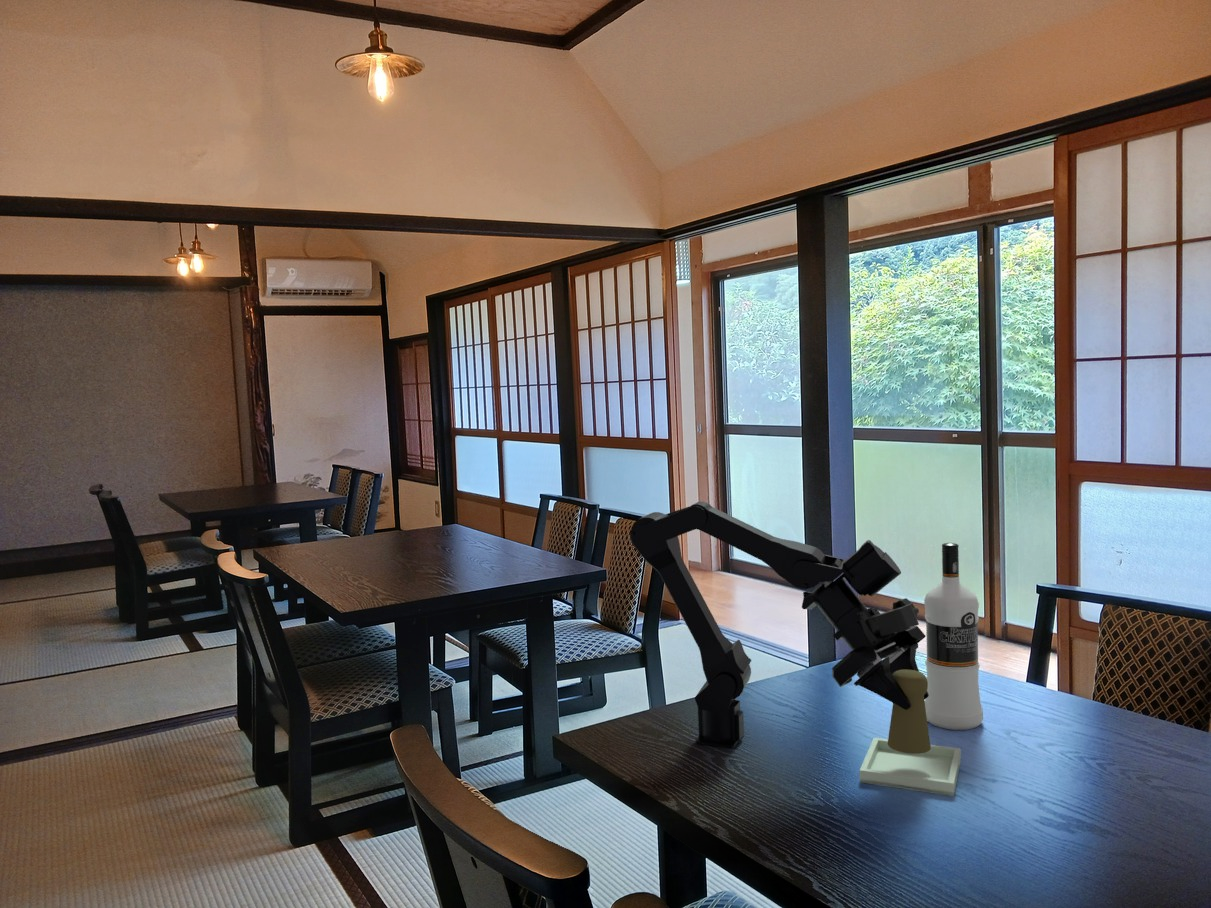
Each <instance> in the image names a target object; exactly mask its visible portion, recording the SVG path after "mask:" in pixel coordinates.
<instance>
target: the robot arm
mask: <svg viewBox="0 0 1211 908" xmlns="http://www.w3.org/2000/svg"><path fill="white" fill-rule="evenodd" d="M694 530H699V531H700V532H702V533H705V534H707V535H709V536H711V537H713V538H715V539H717V540H719V541H721V542H723V543H725V544H727V545H730V546H731V547H733V548H735V549H738V550H739V551H742V552H744V553H746V554H748V555H750V556H752V557H754V558H756V559H758V560H760V561H762V562H763V563H765V565H768V567H769V568H771V570H773V571H774V572H775V574H777V575H778V576H779V577H781V578H782V579H784V581H786V582H788V583H789V584H790V585H792V586H793V587H794V588H796V589H799V590H809V589H812V588H814V587H816V586H817V587H816V588H815V589H814V590H813V591H812V592H811V591H804V592H803V593H802V595H803V598H802V604H801V608H802V610H813V609H814V608H815V607H816V606H817V607H818V609H819V610H820V611H821V613H822V614H823V615H824V616H825V617H826V619H827V621H828V622H829V623H830V624H831V626H832V627H833V628H834V629H835V630H836V631H835V633H834V634H833V635H832V636H833V638H835V640H836V641H840V640H843V641H844V642H845V644H846V645H847V646H848V648H849V649H850V650H851V651H849V653H847V654H846V655H845V656H844V657H843V658H841V660H839V661H838V662H837V663H836V664H835V665H833V667H832V668H831V674H832V675H831V677H832V678H833V680H834V681H835V683H837V686H839V688H842V687H844V686H846V685H848V684H850V683H851V682H853V677H855V675H856V676H857V677H858V679H857V680H856V681H854V683H853V684H854V685H855V687H857V686H859V687H861V688H864V689H866V690H868V691H869V692H872V693H874V694H876V695H878V696H880V697H881V698H883V699H885V700H887V701H888V702H890V703H892V704H893V703H894V704H896V705H898V706H899V707H901V708H903V709H905V710H907V709H909V708H910V707H911V703H910V701H909V700H908V698H907V696H906V695H905V693H904V692H903V690H902V689H901V687H900V686H899V684H898V683H897V681H896V680H895V678H894V677H893V675H892V674H893V673H894V672H895V671H898V670H903V669H908V670H916V671H919V672H920V669H919V667H918V664H917V662H916V654H917V649H918V648H919V643H920V642H921V641H923V640H924V639H925V638H926V634H925V633H924V632H923V630H921V628H920V626H918V625H920V624H919V620H918V619H917V617H918V614H919V612H920V611H919V609H918V607H915V605H914V603H913V602H911V601H910V600H909V599H908V598H907V597H905V598H903V599H899V600H896V601H895V602H894V601H893V603H892V609H890V610H888V611H885V612H882V613H880V611H879V610H878V609H877V607H873V606H872V607H869V608H867V606H866V605H865V604H864V603H863V601H862V600H861V599H860V598H859V596H861V597H862V596H863V597H866V596H869V597H874V596H875V595H877V593H879V592H880V591H881V590H882V589H883V590H884V588H885V587H887V585H889V584H890V583H891V582H893V581H894V580H895V579H896V578H898V577H899V576H900V575H901V574H902V571H901V569H900V567H899V566H898V564H897V563H896V562H895V561H894V560H893V558H892V557H891V556H890V555H889V554H888V553H887V552H886V551H883V550H882V548H880V547H878V546H877V545H876V544H874V543H873V542H872V540H870V539H867V540H866V541H864V543H863V544H861V546H860V547H859V548H858V549H857V550H856V551H855V552H854V553H852V555H850V556H849V557H848V558H843V557H841V558H840V557H836V556H833V555H829V554H828V555H827V554H824V552H823V551H822V550H821V549H819V548H818V547H815V546H813V545H810V544H806V543H803V542H799V541H795V540H791V539H783V538H779V537H776V536H773V535H772V534H769V533H768V532H765V531H763V530H761V529H759V528H757V527H755V526H752V525H751V524H749V523H746V522H745V521H742V520H740V519H739V518H736V517H734V516H732V515H731V514H728V513H725V512H724V511H722V510H719V509H717V508H715V507H713V506H712V505H711V504H710V503H708V502H707V501H697V502H695V503H693V504H692V505H690V506H689V505H688V506H687V507H683V508H680V509H678V510H674V511H671V512H669V513H663V512H659V511H654V512H651V513H648V514H646V515H644V516H643V517H640V518H638V519H637V520H636V521H635V522H633V524H632V526H631V528H630V533H629V539H630V541H631V544H632V545H633V546H634V548H635V549H636V550H637V552H638V553H639V554H640V556H641V558H642V559H643V560H644V561H646V562H647V564H648V565H650V566H651V567H652V568H653V569H655V571H656V572H657V573H658V574H659V576H660V578H661V580H662V582H663V583H664V585H665V588H666V589H667V591H668V594H669V595H670V596H671V598H672V600H673V602H674V604H675V607H676V608H677V610H678V612H679V613H680V616H681V617H682V619H683V621H684V623H685V624H686V627H687V629H688V630H689V633H690V634H691V636H692V638H693V640H694V642H695V644H696V646H697V647H698V649H699V652H700V658H701V660H700V661H701V665H702V670H703V673H704V676H705V679H706V681H705V682H704V684H703V686H701V688H700V690H699V691H698V692H697V693H696V695H695V697H694V700H695V704H696V706H697V724H698V726H697V727H698V735H697V737H696V738H695V739H694V740H695V741H694V742H695V744H701V745H706V746H714V747H720V748H728V749H733V748H735V747H736V745H738V743H739V742H740V741H741V739H742V738H743V737H744V735H745V725H744V723H745V721H744V720H745V717H744V711H743V710H741V701H740V700H738V699H737V698H739V697H740V695H741V694H742V693H743V691H744V690H745V688H746V686H747V685H748V683H749V681H750V680H751V675H752V668H751V664H750V663H752V659H751V658H749V656H748V655H747V653H746V652H745V650H744V647H743V644H742V642H741V640H740V639H737V640H735V641H734V642H731V641H730V640H729V639H728V638H727V637H726V636H725V635H724V634H723V632H722V630H721V629H720V626H719V625H718V623H717V621H716V619H715V617H714V615H713V614H712V612H711V610H710V608H709V606H708V605H707V602H706V601H705V599H704V596H703V594H701V592H700V590H699V588H698V585H697V584H696V582H695V580H694V578H693V576H692V574H691V572H690V571H689V569H688V568H687V565H686V563H685V561H684V559H683V556H682V550H681V544H680V539H679V536H682V535H683V534H687V533H689V532H692V531H694ZM830 582H831V583H830ZM819 583H821V584H820V585H819ZM818 585H819V586H818ZM856 593H857V594H858V595H859V596H858V595H857V594H856ZM928 696H929V694H928V692H926V693H925V695H924V701H925V699H926V698H927V697H928Z"/></svg>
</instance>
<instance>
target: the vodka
mask: <svg viewBox="0 0 1211 908" xmlns="http://www.w3.org/2000/svg"><path fill="white" fill-rule="evenodd" d="M941 546H942V547H941V556H942V557H941V558H942V559H941V561H942V562H941V563H942V565H941V566H942V574H941V575H942V582H941V583H939V584H937V585H936V586H935V587H933V588H931V589H929V590H928V591H927V593H926V594H925V597H924V602H923V603H924V604H923V605H924V611H925V614H924V619H925V622H926V628H925V629H926V634H925V636H926V660H925V666H926V678H927V681H928V689H927V692H928V694H929V696H928V697H927V698H926V699H925V700H924V701H925V708H926V715H927V722H928V723H930V724H931V725H933V726H935V727H938V728H941V729H945V730H951V731H966V730H972V729H975V728H977V727H978V726H981V724H982V723H983V720H984V709H983V706H982V703H981V696H980V695H981V694H980V687H979V686H980V683H979V673H980V672H979V669H980V668H981V667H980V666H981V665H980V664H979V633H978V632H979V628H978V627H979V625H978V624H979V620H980V619H979V618H980V617H979V607H980V606H979V605H980V603H979V599H978V597H977V595H976V594H975V593H974V592H973V591H971V589H969V588H968V587H966V586H965V585H963V584H962V583H960V570H959V569H960V566H959V559H960V558H959V556H960V555H959V544H957V543H955V542H945V543H942V544H941Z"/></svg>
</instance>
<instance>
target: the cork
mask: <svg viewBox="0 0 1211 908" xmlns="http://www.w3.org/2000/svg"><path fill="white" fill-rule="evenodd" d="M892 675H893V677H894V678H895V680H896V681H897V683H898V684H899V686H900V687H901V689H902V690H903V692H904V693H905V695H906V696H907V698H908V700H909V701H910V703H911V707H910V708H909V709H907V710H905V709H903V708H901V707H899V706H898V705H896V704H894V703H892V708H891V715H890V723H889V724H890V725H889V731H888V736H887V739H888V746H889V747H890V748H892V749H894V750H896V751H899V752H903V753H910V754H919V753H925V752H928V751H929V750H930V749H931V745H932V744H931V739H930V732H929V724H928V723H929V722H928V721H927V715H926V708H925V700H924V695H925V693H926V692H927V689H928V681H927V675H926V674H924V673H923V672H921V671H920V670H919V671H916V670H908V669H903V670H898V671H895V672H894V673H893V674H892Z"/></svg>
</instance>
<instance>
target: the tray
mask: <svg viewBox="0 0 1211 908" xmlns="http://www.w3.org/2000/svg"><path fill="white" fill-rule="evenodd" d="M930 745H931V749H930V750H929V751H928V752H925V753H919V754H910V753H903V752H899V751H896V750H894V749H892V748H890V747H889V746H888V738H881V737H873V739H872V741H871V743H870V745H869V747H868V751H867V752H866V755H865V757H864V759H863V761H862V765H861V767H860V768H859V783H863V784H869V785H876V786H883V787H889V788H897V789H901V790H903V789H904V790H908V791H910V790H911V791H917V792H923V793H930V794H936V795H943V796H948V797H949V796H950V797H955V793H956V789H957V788H956V787H957V784H958V777H959V772H960V768H961V761H962V754H961V753H962V751H961V750H962V749H961V748H960V747H953V746H945V745H943V746H942V745H936V744H930Z"/></svg>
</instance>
